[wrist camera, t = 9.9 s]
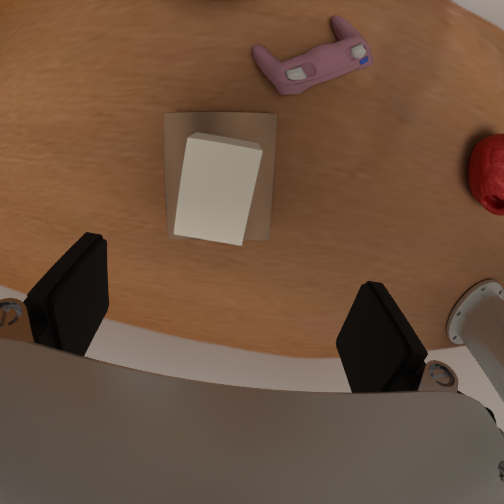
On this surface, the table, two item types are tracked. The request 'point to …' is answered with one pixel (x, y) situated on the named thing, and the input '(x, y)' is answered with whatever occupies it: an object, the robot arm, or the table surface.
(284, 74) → the video game controller
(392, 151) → the table surface
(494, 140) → the pomegranate
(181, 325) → the table surface
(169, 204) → the walnut block
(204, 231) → the cream block
